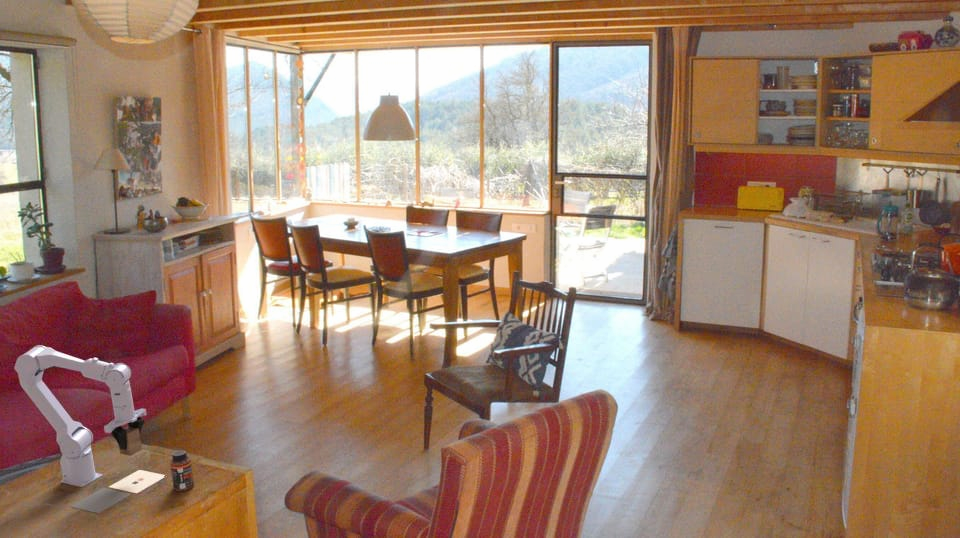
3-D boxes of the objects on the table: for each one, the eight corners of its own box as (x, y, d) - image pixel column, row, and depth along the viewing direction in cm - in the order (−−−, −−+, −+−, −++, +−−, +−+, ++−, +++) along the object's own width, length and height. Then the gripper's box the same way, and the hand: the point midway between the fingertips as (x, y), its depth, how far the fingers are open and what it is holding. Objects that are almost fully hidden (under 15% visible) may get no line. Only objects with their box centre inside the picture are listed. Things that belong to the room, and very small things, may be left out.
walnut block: (120, 453, 271) (116, 432, 269) (131, 447, 275) (128, 426, 273) (130, 455, 269) (127, 434, 267) (142, 449, 273) (138, 428, 271)
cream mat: (108, 487, 268) (108, 486, 268) (139, 470, 278) (139, 469, 278) (136, 493, 262) (136, 493, 262) (167, 476, 273) (167, 475, 272)
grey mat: (69, 507, 257) (69, 506, 257) (103, 488, 267) (103, 487, 267) (98, 514, 251) (98, 513, 251) (131, 494, 262) (131, 494, 262)
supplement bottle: (188, 492, 261) (182, 457, 258) (170, 492, 262) (164, 457, 259) (198, 483, 266) (193, 448, 264) (180, 482, 268) (175, 448, 265)
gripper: (113, 414, 260) (120, 457, 263) (150, 396, 273) (157, 437, 276) (96, 411, 263) (103, 454, 266) (134, 394, 276) (141, 434, 279)
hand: (130, 445), depth 271 cm, fingers closed on walnut block, 4 cm apart
